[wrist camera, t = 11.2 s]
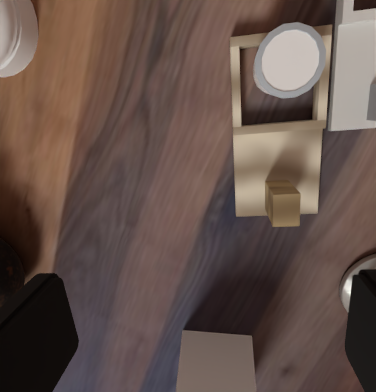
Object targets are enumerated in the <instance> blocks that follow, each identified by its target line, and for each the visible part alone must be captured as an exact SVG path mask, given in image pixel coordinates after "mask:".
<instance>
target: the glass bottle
mask: <svg viewBox="0 0 376 392" xmlns="http://www.w3.org/2000/svg"><path fill="white" fill-rule="evenodd" d="M24 281H25V280H24V269H23V266H22V263H21V261H20V259H19V257H18V255H17V254H16V252H15V251H14V250H13V249H12V248H11V247H10V246H9V245H8V244H7V243H6V242H5V241H3V240H2V239H0V307H1V306H2V305H4V304H5V303H6V302H7V301H8V300H9V299H10V298H11V297H12V296H13V295H14V294H15V293H17V292H18V291H19V290H20V289H21V288H22V287H23V286H24Z"/></svg>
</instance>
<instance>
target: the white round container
mask: <svg viewBox="0 0 376 392" xmlns="http://www.w3.org/2000/svg"><path fill="white" fill-rule="evenodd" d="M325 60H326V48H325V46H324V43H323V40H322V37H321V36H320V35H319V34H318V33H317V32H316V31H315V30H314V29H313V28H312V27H311V26H308V25H305V24H302V23H299V22H295V23H287V24H283V25H281V26H279V27H277V28H276V29H274V30H272V31H271V32H269V34H268V35H267V36H266V37H265V39H264V40H263V41H262V42H261V44H260V46H259V49H258V51H257V54H256V57H255V61H254V67H253V78H254V80H255V83H256V85H257V86H258V87H259V88H260V89H261V90H262V91H263V92H265V93H268V94H271V95H274V96H277V97H280V98H291V97H297V96H299V95H301V94H303V93H305V92H307V91H309V90H310V88H311V87H312V86H313V85H314V84H315V83H316V82H317V81H318V80H319V78H320V76H321V74H322V71H323V69H324V67H325Z"/></svg>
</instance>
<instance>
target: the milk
mask: <svg viewBox="0 0 376 392" xmlns="http://www.w3.org/2000/svg"><path fill="white" fill-rule="evenodd" d="M176 392H256V382H255V369H254V356H253V343H252V336H249V335H237V334H225V333H212V332H200V331H188V330H183V332H182V341H181V350H180V359H179V368H178V377H177V386H176Z"/></svg>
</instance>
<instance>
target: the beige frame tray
mask: <svg viewBox="0 0 376 392" xmlns="http://www.w3.org/2000/svg"><path fill="white" fill-rule="evenodd" d="M312 28H313V29H314V30H315V31H316V32H317V33H318V34H319V35H320V36H321V37H322V40H323V43H324V46H325V48H326V60H325V67H324V69H323V71H322V74H321V76H320V78H319V80H318V81H317V82H316V83H315V84H314V91H313V111H312V120H301V121H289V122H277V123H265V124H253V125H241V93H240V56H239V49H246V48H255V47H259V46H260V44H261V42H262V41H263V40H264V39H265V37H266V36H267V35H268V34H269V32H268V33H260V34H252V35H245V36H237V37H230V41H229V43H230V70H231V96H232V123H233V150H234V177H235V203H236V217H237V216H263V215H268V217H269V219H270V221H271V223H272V226H273V227H285V226H299V223H300V214H314V213H317V212H318V196H319V179H320V163H321V147H322V131H323V128H326V115H327V100H328V85H329V69H330V54H331V39H332V24H331V25H324V26H316V27H312Z"/></svg>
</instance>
